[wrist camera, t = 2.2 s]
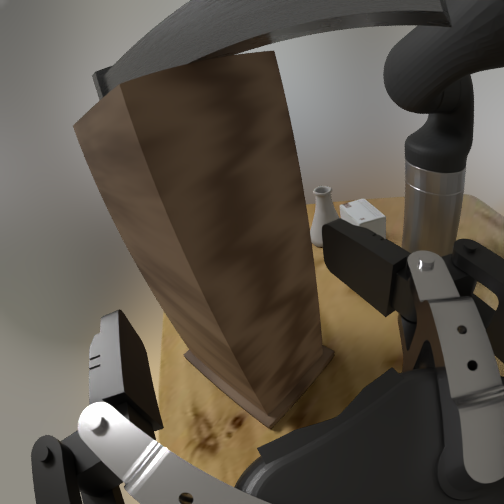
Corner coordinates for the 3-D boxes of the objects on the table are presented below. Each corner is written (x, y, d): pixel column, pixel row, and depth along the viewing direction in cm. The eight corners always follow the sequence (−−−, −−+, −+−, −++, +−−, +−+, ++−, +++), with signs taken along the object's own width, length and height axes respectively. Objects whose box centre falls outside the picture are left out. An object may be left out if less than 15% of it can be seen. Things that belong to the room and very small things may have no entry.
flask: (322, 223, 56) (317, 178, 50) (353, 233, 51) (350, 185, 45) (301, 242, 52) (293, 194, 47) (333, 253, 48) (328, 202, 42)
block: (139, 96, 22) (128, 62, 19) (453, 29, 5) (425, -54, 3) (103, 111, 20) (92, 75, 18) (440, 8, 3) (393, -99, 1)
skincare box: (384, 286, 38) (390, 216, 32) (359, 296, 38) (359, 225, 32) (366, 262, 43) (366, 196, 37) (342, 271, 43) (338, 203, 37)
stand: (245, 306, 42) (170, 87, 24) (334, 355, 32) (296, 47, 14) (186, 358, 37) (61, 132, 18) (270, 429, 26) (104, 86, 8)
